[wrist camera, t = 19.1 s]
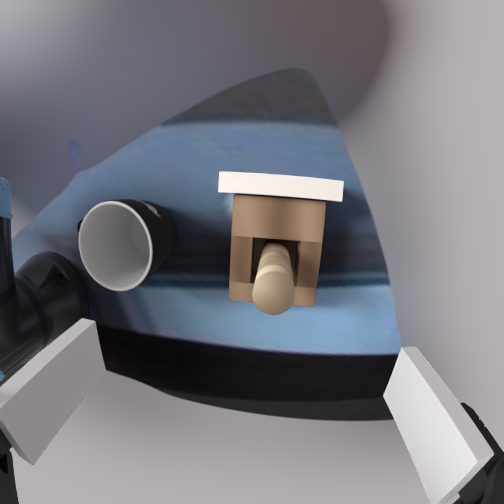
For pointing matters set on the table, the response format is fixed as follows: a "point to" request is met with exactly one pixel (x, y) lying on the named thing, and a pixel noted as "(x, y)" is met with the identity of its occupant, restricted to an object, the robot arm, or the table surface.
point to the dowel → (274, 279)
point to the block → (276, 227)
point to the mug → (125, 242)
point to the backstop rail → (280, 185)
